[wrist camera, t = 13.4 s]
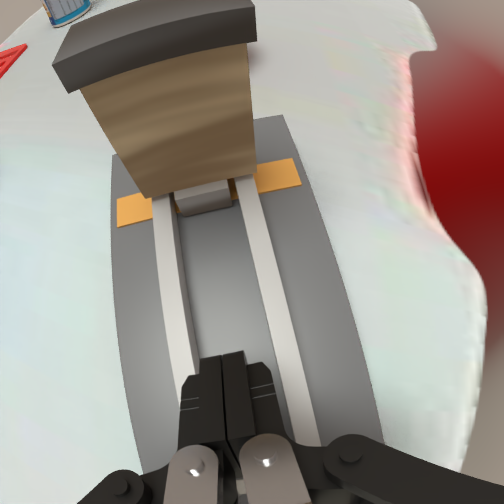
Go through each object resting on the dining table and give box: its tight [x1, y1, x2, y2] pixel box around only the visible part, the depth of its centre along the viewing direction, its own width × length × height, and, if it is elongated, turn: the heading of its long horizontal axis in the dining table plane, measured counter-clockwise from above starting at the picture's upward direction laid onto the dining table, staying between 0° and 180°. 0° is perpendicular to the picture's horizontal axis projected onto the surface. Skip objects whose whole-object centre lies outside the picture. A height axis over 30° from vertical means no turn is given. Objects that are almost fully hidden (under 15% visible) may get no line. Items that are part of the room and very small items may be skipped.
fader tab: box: [52, 0, 257, 217], centre depth 13 cm, size 4×7×11 cm, turn 102°
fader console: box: [111, 115, 385, 504], centre depth 16 cm, size 26×12×4 cm, turn 12°
